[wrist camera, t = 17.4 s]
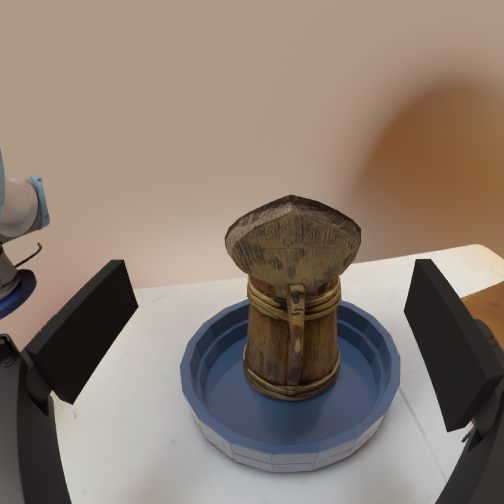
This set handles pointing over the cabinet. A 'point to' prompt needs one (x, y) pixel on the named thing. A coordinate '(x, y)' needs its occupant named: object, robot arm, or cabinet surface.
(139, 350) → the cabinet surface
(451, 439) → the cabinet surface
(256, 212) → the wooden mug
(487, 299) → the diary
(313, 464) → the bowl
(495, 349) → the robot arm
